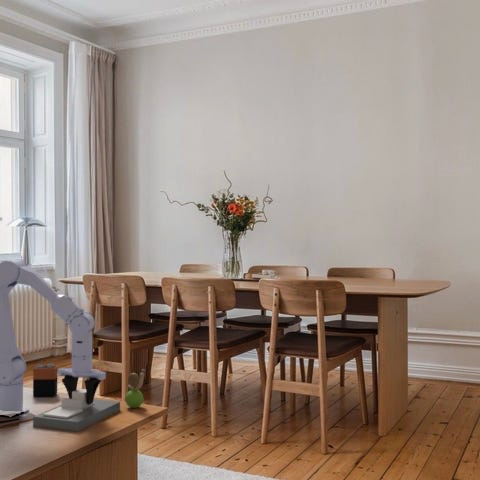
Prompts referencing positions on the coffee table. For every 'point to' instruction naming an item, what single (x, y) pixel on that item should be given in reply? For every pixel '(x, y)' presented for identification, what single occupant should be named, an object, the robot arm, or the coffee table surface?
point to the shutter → (66, 408)
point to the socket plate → (79, 416)
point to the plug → (81, 397)
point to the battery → (45, 381)
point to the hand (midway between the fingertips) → (81, 402)
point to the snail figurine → (134, 390)
